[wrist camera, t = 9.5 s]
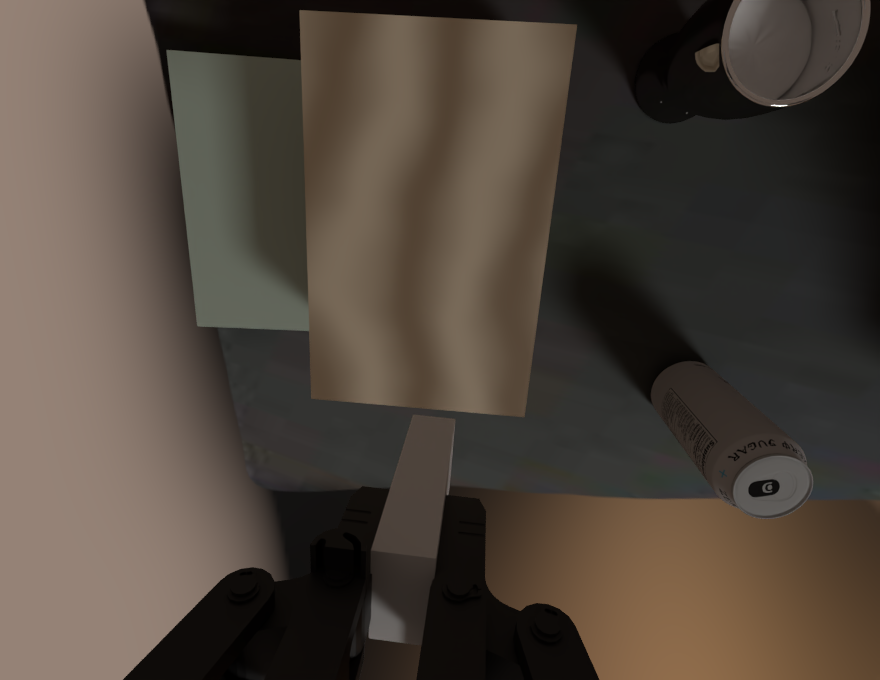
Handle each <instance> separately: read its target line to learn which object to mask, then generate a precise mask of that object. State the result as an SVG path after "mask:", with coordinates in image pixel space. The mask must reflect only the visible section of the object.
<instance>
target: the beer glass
mask: <svg viewBox="0 0 880 680" xmlns="http://www.w3.org/2000/svg"><path fill="white" fill-rule="evenodd" d="M870 11H871V5H870V0H707V1H706V2H705V3H704V4H703V5H702V6H701V7H700V8H699V9H698V10H697V11H696V12H695V13H694V14H693V15H692V16H691V17H690V19H689V20H688V21H687V22H686V24H685V25H684V26H683V28H682V29H681V30H680V32H678V33H674V34H671V35H668V36H666V37H664V38H662V39H661V40H659V41H658V42H656V43H655V44H654V45H653V46H652V47H651V48H650V49H649V50H648V51H647V52H646V54H645V55H644V57H643V58H642V60H641V62H640V64H639V66H638V69H637V72H636V76H635V95H636V99H637V102H638V104H639V106H640V108H641V109H642V110H643V112H644V113H645V114H646V115H647V116H649V117H650V118H652V119H654V120H656V121H658V122H662V123H669V124H671V123H678V122H682V121H685V120H688V119H690V118H692V117H694V116H695V115H698V116H702V117H706V118H712V119H722V120H731V119H742V118H749V117H753V116H758V115H762V114H766V113H770V112H773V111H776V110H779V109H783V108H785V107H789V106H794V105H798V104H801V103H804V102H806V101H809V100H811V99H813V98H815V97H817V96H818V95H820V94H822V93H823V92H825V91H826V90H827V89H829V88H830V87H831V86H832V85H834V84H835V83H836V82H837V81H838V80H839V79H840V78H841V77H842V76H843V75H844V74H845V72H846V71H847V70H848V69H849V67H850V66H851V65H852V63H853V62H854V60H855V59H856V57H857V55H858V53H859V51H860V49H861V47H862V45H863V43H864V40H865V37H866V34H867V31H868V27H869V21H870Z"/></svg>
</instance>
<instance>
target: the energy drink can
mask: <svg viewBox="0 0 880 680" xmlns="http://www.w3.org/2000/svg"><path fill="white" fill-rule="evenodd" d="M651 400H652V404H653V406H654V408H655V410H656V411H657V413H658V414H659V415H660V417H661V418H662V419H663V421H664V422H665V424H666V425H667V426H668V428H669V429H670V430H671V432H672V433H673V435H674V436H675V437H676V439H677V440H678V441H679V443H680V444H681V446H682V447H683V448H684V450H685V451H686V453H687V454H688V455H689V457H690V458H691V459H692V461H693V462H694V464H695V465H696V466H697V468H698V469H699V470H700V472H701V473H702V475H703V476H704V477H705V479H706V480H707V482H708V483H709V484H710V486H711V487H712V488H713V490H714V491H715V493H716V494H717V495H718V496H719V497H720V499H722V500H723V501H725V502H726V503H728V504H729V505H732V506H734V507H736V508H739V509H740V510H741V511H743V512H744V513H745V514H747V515H750V516H752V517H756V518H761V519H773V518H778V517H782V516H785V515H788V514H790V513H792V512H793V511H795V510H797V509H798V508H799V507H800V506H802V504H804V503H805V501H806V500H807V499H808V497H809V496H810V494H811V491H812V488H813V476H812V473H811V471H810V469H809V468H808V467H807V461H806V457H805V454H804V452H803V450H802V449H801V447H800V446H799V445H798V444H797V443H796V442H795V441H794V440H793V439H791V438H790V437H789V436H788V435H787V434H786V433H785V432H783V431H782V430H781V429H780V428H779V427H778V426H777V425H775V424H774V423H773V422H772V421H771V420H770V419H769V418H767V417H766V416H765V415H764V414H763V413H762V412H761V411H760V410H758V409H757V408H756V407H755V406H754V405H753V404H752V403H750V402H749V401H748V400H747V399H746V398H745V397H744V396H742V395H741V394H740V393H739V392H738V391H737V390H736V389H734V388H733V387H732V386H731V385H730V384H729V383H728V382H726V381H725V380H724V379H723V378H722V377H721V376H720V375H718V374H717V373H716V372H715V371H714V370H713V369H712V368H710V367H709V366H707V365H705V364H703V363H700V362H696V361H685V362H680V363H676V364H674V365H672V366H670V367H668V368H666V369H665V370H664V371H662V372H661V373H660V374H659V376H658V377H657V378H656V380H655V382H654V384H653V386H652V390H651Z"/></svg>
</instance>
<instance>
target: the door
mask: <svg viewBox="0 0 880 680" xmlns="http://www.w3.org/2000/svg"><path fill="white" fill-rule="evenodd" d="M167 59H168V68H169V77H170V86H171V95H172V104H173V113H174V122H175V131H176V140H177V149H178V157H179V166H180V176H181V184H182V193H183V201H184V211H185V219H186V228H187V238H188V247H189V256H190V265H191V273H192V283H193V292H194V300H195V310H196V318H197V326H204V327H205V326H206V327H228V328H252V329H277V330H301V331H309V304H308V272H307V239H306V207H305V174H304V141H303V109H302V76H301V60H292V59H279V58H266V57H253V56H240V55H227V54H214V53H201V52H188V51H175V50H167Z"/></svg>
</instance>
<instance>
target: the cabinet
mask: <svg viewBox="0 0 880 680" xmlns="http://www.w3.org/2000/svg"><path fill="white" fill-rule="evenodd" d="M299 11H300V43H301V76H302V109H303V141H304V174H305V207H306V239H307V272H308V304H309V337H310V370H311V399H322V400H333V401H345V402H356V403H368V404H379V405H391V406H402V407H414V408H425V409H437V410H449V411H460V412H472V413H483V414H495V415H506V416H518V417H524V416H525V408H526V401H527V393H528V386H529V378H530V371H531V364H532V356H533V349H534V341H535V334H536V326H537V319H538V312H539V304H540V297H541V289H542V282H543V274H544V267H545V259H546V252H547V245H548V237H549V230H550V222H551V215H552V207H553V200H554V193H555V185H556V178H557V170H558V163H559V155H560V148H561V140H562V133H563V126H564V118H565V111H566V103H567V96H568V88H569V81H570V74H571V66H572V59H573V51H574V44H575V36H576V29H577V25H572V24H553V23H534V22H515V21H496V20H477V19H458V18H439V17H420V16H402V15H383V14H364V13H345V12H326V11H307V10H299Z"/></svg>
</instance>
